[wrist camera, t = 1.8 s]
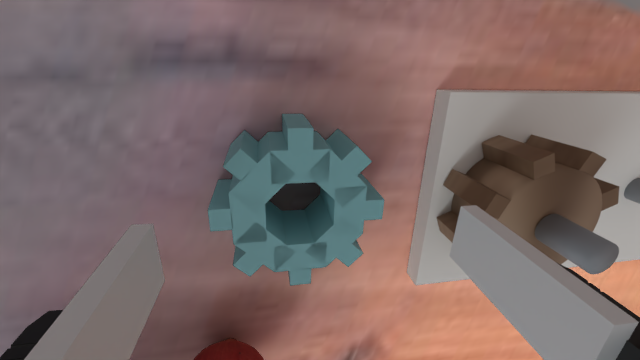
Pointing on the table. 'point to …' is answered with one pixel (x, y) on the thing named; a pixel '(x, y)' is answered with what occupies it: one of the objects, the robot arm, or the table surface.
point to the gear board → (518, 124)
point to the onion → (229, 351)
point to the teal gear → (294, 225)
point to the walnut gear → (531, 187)
